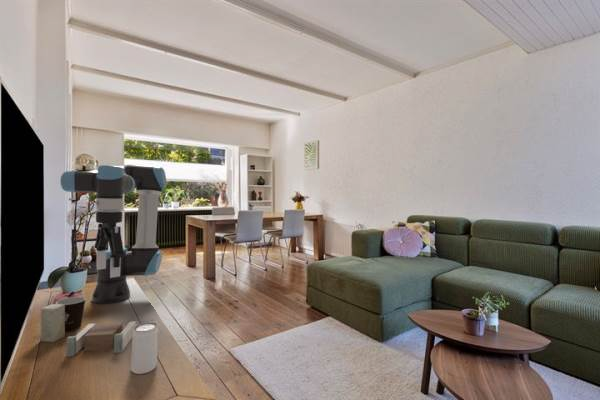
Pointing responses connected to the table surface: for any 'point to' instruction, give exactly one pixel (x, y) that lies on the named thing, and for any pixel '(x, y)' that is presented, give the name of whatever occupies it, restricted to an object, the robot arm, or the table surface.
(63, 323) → the box
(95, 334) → the block
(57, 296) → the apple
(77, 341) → the chute
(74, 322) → the coffee mug
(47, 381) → the table surface
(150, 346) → the can
